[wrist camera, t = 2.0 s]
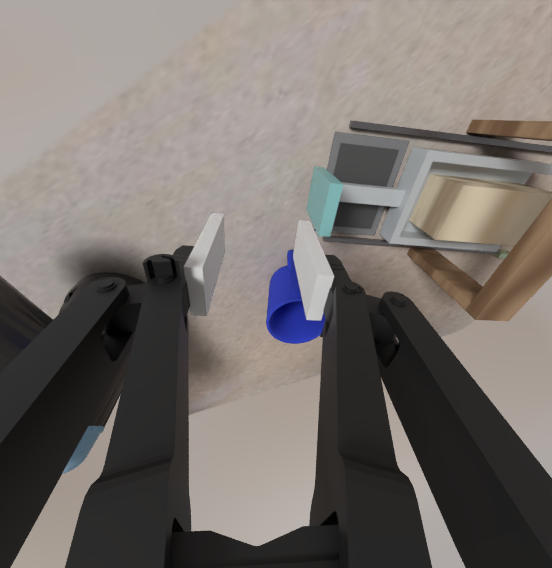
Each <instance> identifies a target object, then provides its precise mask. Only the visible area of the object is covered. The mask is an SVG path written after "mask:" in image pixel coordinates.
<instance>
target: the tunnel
mask: <svg viewBox="0 0 552 568" xmlns="http://www.w3.org/2000/svg"><path fill="white" fill-rule="evenodd" d="M467 132H468V133H476V134H484V135H491V136H500V137H511V138H522V139H533V140H544V141H552V122H549V121H504V120H472V122H471V124H470V126H469V128H468V130H467ZM407 255H408V256H410V257H411V258H412V259H413V260H414V261H415V262H416V263H417V264H418V265H419V266H420V267H421V268H422V269H423V270H424V271H425V272H426V273H427V274H428V275H429V276H430V277H431V278H432V279H433V280H434V281H435V282H436V283H437V284H439V285H440V286H441V287H442V288H443V289H444V290H445V291H446V292H447V293H448V294H449V295H450V296H451V297H452V298H453V299H454V300H455V301H456V302H457V303H458V304H459V305H460V306H461V307H462V308H463V309H464V310H465V311H467V312H468V313H469V314H470V315H471V316H472V317H473V318H474V319H475V320H493V321H509V320H510V319H511V318H512V317H513V316H514V315H515V314H516V313H517V311H519V310H520V309H521V307H522V306H523V305H524V304H525V303H526V302H527V301H528V300H529V299H530V298H531V297H532V296H533V295H534V294H535V293H536V292H537V291H538V290H539V288H540V287H542V285H543V284H544V283H545V282H546V281H547V280H548V279H549V278H550V277H551V276H552V198H551V200H550V201H549V202H548V203H547V205H546V206H545V207H544V209H543V210H542V211H541V212H540V214H539V215H538V216H537V218H536V219H535V220H534V222H533V223H532V224H531V225H530V227H529V228H528V229H527V231H526V232H525V233H524V235H523V236H522V237H521V238H520V240H519V241H518V242H517V244H516V245H515V246H514V247H513V249H512V250H511V251H510V253H509V254H508V255H507V257H506V258H505V259H504V260H503V262H502V263H501V264H500V266H499V267H498V268H497V270H496V271H495V272H494V273H493V275H492V276H491V277H490V279H489V280H488V281H487V282H486V284H485V285H484V286H483V287H482V286H481V285H480V284H478V283H477V282H476V281H475V280H473V279H472V278H471V277H469V276H468V275H467V274H466V273H464V272H463V271H462V270H460V269H459V268H458V267H457V266H455V265H454V264H453V263H452V262H450V261H449V260H448V259H446V258H445V257H444V256H443V255H441V254H440V253H439V252H437V251H436V250H435V249H423V248H410V250H409V252H408V254H407Z"/></svg>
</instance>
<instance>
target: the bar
mask: <svg viewBox="0 0 552 568" xmlns="http://www.w3.org/2000/svg"><path fill="white" fill-rule="evenodd" d="M551 198H552V192H549V191H546V190H542V189H538V188H534V187H531V186H527V185H523V184H519V183H512V182H503V181H494V180H485V179H476V178H467V177H457V176H448V175H439V174H430V176H429V178H428V180H427V182H426V184H425V187H424V189H423V191H422V193H421V196H420V198H419V200H418V202H417V205H416V207H415V209H414V211H413V213H412V216H411V218H410V220H409V221H410V222H412V223H413V224H414V225H416V226H417V227H418V228H420V229H421V230H423V231H424V232H425V233H427V234H428V235H430V236H431V237H432V238H434V239H435V240H446V241H458V242H471V243H483V244H496V245H508V246H515V245H516V244H517V242H518V241H519V240H520V238H521V237H522V236H523V235H524V233H525V232H526V231H527V229H528V228H529V227H530V225H531V224H532V223H533V222H534V220H535V219H536V218H537V216H538V215H539V214H540V212H541V211H542V210H543V209H544V207H545V206H546V205H547V203H548V202H549V201H550V200H551Z"/></svg>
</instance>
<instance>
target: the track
mask: <svg viewBox="0 0 552 568" xmlns="http://www.w3.org/2000/svg"><path fill="white" fill-rule="evenodd" d="M349 127H352V128H360V129H368V130H376V131H384V132H392V133H400V134H408V135H416V136H424V137H432V138H440V139H448V140H456V141H464V142H472V143H480V144H488V145H496V146H504V147H512V148H520V149H528V150H536V151H544V152H552V146H545V145H538V144H530V143H522V142H514V141H506V140H499V139H491V138H483V137H475V136H468V135H460V134H452V133H444V132H436V131H429V130H421V129H413V128H405V127H397V126H390V125H382V124H374V123H366V122H358V121H350V125H349ZM323 241H331V242H344V243H357V244H371V245H384V246H397V247H410V248H423V249H437V250H450V251H463V252H476V253H489V254H493V255H494V256H496V257H498V258H506V257H507V255H508V254H509V253H510V252H508V251H505V250H498V251H497V252H493V251H480V250H467V249H454V248H441V247H428V246H415V245H402V244H389V243H388V242H387V241H386V240H380V239H367V238H354V237H341V236H330V237H326V236H323Z"/></svg>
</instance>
